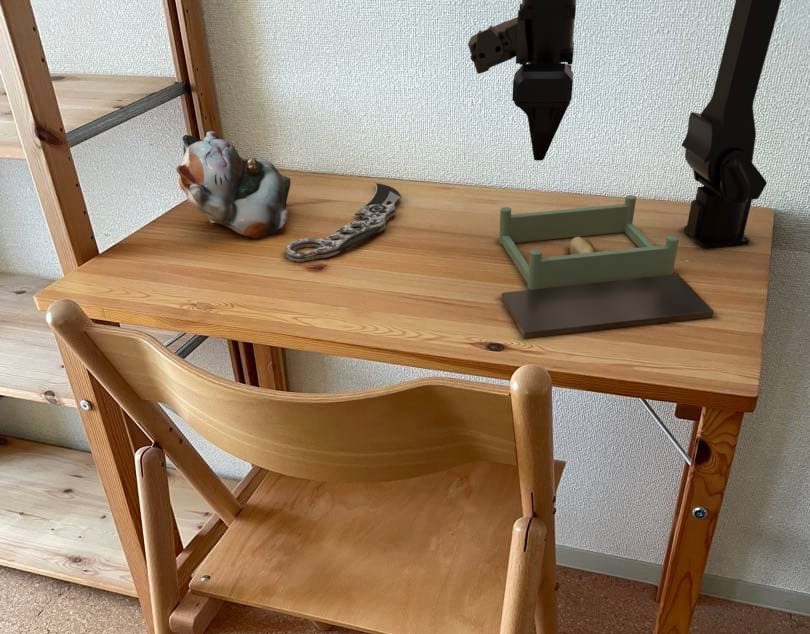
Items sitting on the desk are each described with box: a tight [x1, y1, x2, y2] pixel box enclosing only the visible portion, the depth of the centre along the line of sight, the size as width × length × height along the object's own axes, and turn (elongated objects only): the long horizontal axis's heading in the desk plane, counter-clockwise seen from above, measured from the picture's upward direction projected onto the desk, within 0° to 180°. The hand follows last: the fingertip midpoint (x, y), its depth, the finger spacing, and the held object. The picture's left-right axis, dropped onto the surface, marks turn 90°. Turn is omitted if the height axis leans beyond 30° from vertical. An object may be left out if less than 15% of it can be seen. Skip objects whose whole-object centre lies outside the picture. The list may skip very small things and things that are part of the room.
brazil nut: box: [568, 236, 596, 255], centre depth 109 cm, size 6×5×3 cm
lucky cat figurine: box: [176, 130, 292, 240], centre depth 117 cm, size 15×12×14 cm
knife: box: [285, 182, 402, 263], centre depth 119 cm, size 28×2×10 cm
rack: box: [498, 194, 680, 290], centre depth 108 cm, size 18×15×4 cm
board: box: [501, 273, 714, 339], centre depth 98 cm, size 22×10×1 cm, turn 99°
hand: (540, 147), depth 100 cm, fingers open, 9 cm apart
